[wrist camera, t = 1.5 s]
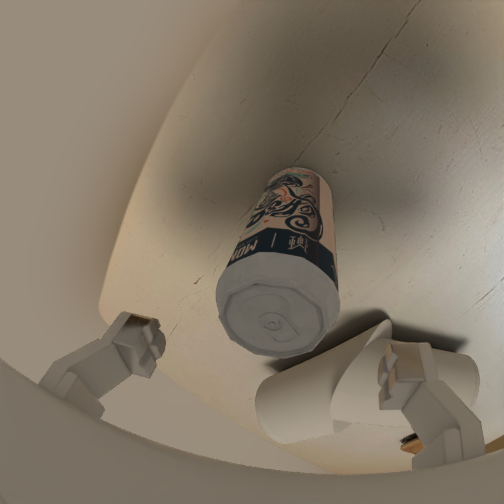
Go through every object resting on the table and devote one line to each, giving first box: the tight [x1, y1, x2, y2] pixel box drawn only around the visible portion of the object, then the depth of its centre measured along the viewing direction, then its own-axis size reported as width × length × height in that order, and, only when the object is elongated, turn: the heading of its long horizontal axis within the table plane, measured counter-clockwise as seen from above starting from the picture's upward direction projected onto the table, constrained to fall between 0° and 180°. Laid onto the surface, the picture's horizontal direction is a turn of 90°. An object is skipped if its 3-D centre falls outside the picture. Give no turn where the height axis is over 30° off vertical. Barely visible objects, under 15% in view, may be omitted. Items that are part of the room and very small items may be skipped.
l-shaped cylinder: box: [255, 319, 480, 444], centre depth 24 cm, size 18×10×20 cm
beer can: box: [216, 167, 340, 359], centre depth 15 cm, size 5×5×12 cm
